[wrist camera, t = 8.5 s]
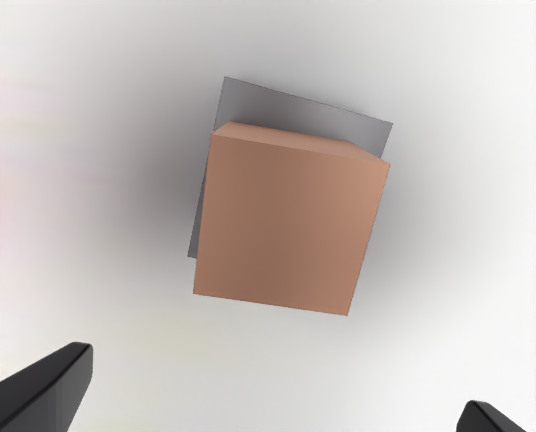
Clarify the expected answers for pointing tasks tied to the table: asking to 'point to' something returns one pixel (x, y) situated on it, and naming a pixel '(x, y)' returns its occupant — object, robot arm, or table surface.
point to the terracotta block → (286, 218)
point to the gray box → (290, 124)
